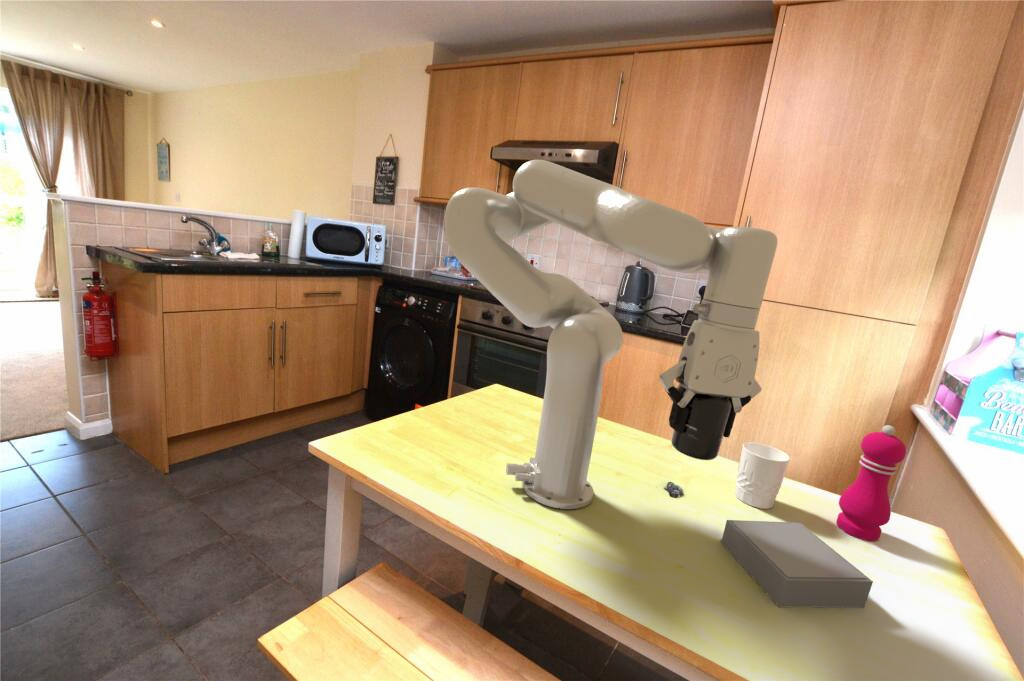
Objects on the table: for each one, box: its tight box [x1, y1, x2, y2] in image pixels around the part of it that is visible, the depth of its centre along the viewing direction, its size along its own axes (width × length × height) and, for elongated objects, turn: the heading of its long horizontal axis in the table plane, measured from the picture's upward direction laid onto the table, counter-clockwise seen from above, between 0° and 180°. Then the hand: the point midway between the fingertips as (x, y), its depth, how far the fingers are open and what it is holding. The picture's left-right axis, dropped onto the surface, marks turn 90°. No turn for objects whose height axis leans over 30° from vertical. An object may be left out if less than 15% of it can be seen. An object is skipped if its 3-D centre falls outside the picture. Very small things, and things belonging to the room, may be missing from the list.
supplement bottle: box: [671, 393, 731, 461], centre depth 69 cm, size 7×7×12 cm
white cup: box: [734, 441, 791, 510], centre depth 87 cm, size 8×8×10 cm
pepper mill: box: [836, 424, 907, 542], centre depth 79 cm, size 7×7×20 cm
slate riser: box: [720, 519, 874, 608], centre depth 67 cm, size 13×13×4 cm
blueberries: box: [655, 481, 685, 499], centre depth 87 cm, size 7×8×2 cm
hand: (698, 430), depth 69 cm, fingers closed on supplement bottle, 6 cm apart
